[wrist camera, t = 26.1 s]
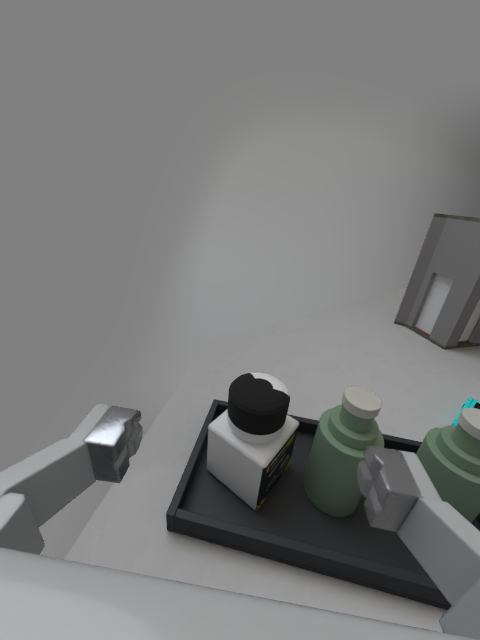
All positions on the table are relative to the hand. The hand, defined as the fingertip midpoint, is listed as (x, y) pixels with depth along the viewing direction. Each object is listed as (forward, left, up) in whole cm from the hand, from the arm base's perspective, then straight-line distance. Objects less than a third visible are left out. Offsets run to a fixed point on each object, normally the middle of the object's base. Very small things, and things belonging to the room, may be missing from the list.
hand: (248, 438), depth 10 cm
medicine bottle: (0, +14, -21) cm, 26 cm away
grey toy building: (+40, +60, -22) cm, 75 cm away
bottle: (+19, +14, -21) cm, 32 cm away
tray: (+9, +14, -22) cm, 27 cm away
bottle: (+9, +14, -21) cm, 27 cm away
